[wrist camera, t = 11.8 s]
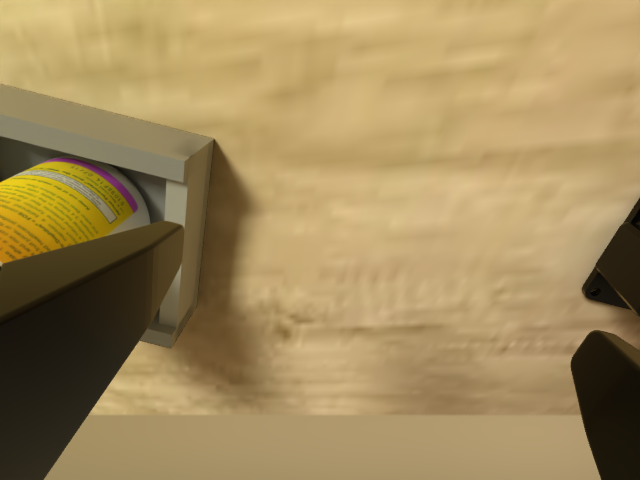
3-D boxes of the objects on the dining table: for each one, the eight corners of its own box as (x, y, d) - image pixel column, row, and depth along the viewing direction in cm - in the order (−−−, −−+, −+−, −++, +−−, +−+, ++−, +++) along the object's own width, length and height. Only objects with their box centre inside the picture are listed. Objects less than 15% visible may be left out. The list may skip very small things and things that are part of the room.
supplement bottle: (24, 144, 22) (-346, 281, 11) (148, 158, 22) (-102, 316, 10) (53, 255, 25) (-209, 452, 14) (161, 269, 25) (-18, 483, 13)
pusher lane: (214, 138, 21) (152, 186, 16) (196, 307, 27) (145, 390, 21) (-133, 49, 21) (-330, 63, 15) (-82, 236, 27) (-214, 299, 21)
